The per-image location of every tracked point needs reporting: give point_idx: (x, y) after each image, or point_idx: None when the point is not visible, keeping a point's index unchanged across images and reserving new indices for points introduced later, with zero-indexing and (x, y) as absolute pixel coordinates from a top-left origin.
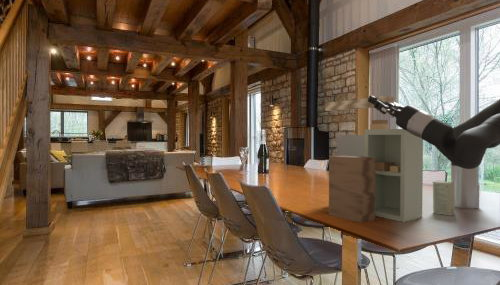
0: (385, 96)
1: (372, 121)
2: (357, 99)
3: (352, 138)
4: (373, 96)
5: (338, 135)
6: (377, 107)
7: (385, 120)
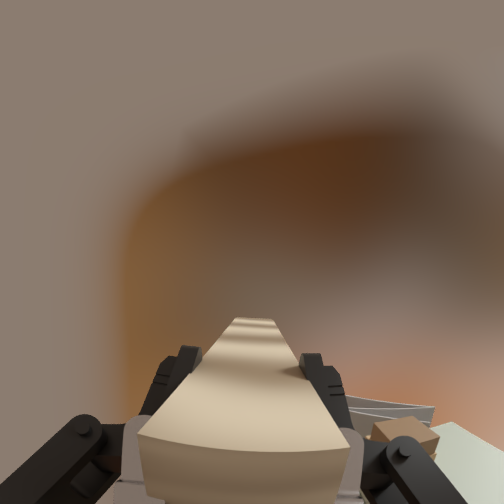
0: (150, 424)
1: (374, 430)
2: (217, 341)
3: (365, 423)
4: (187, 361)
5: (348, 397)
6: (85, 475)
7: (422, 444)
